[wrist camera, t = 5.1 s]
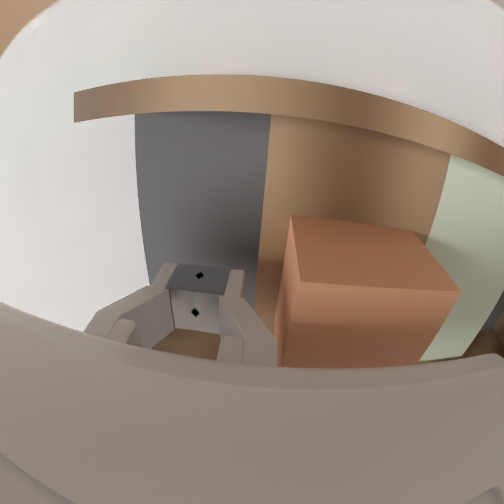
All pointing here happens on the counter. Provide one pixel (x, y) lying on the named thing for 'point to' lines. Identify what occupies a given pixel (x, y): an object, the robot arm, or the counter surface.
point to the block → (358, 296)
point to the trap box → (308, 187)
